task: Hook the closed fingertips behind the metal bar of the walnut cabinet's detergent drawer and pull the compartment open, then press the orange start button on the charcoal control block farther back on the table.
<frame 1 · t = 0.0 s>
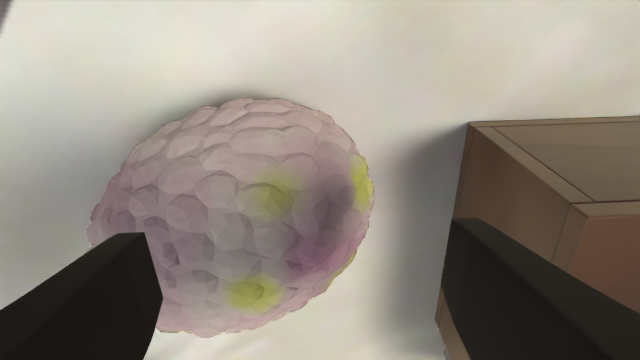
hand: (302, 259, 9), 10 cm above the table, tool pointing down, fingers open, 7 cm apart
drawer: (569, 355, 20), point 4 cm above the table, slide at 1.0 cm
decorative item: (245, 179, 19), on the table
cabinet: (547, 230, 22), on the table
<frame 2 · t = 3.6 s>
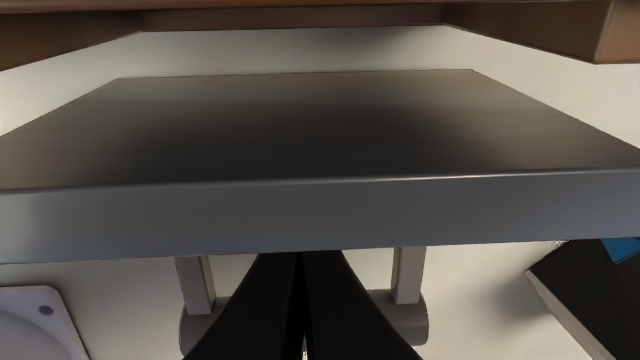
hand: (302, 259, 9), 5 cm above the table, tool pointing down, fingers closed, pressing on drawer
padlock: (608, 252, 16), on the table
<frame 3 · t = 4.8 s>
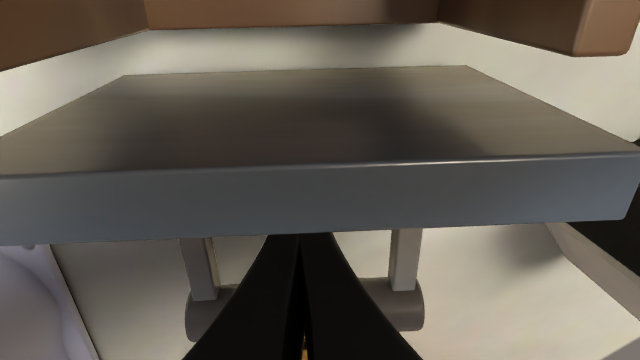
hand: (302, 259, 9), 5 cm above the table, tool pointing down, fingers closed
padlock: (626, 187, 15), on the table
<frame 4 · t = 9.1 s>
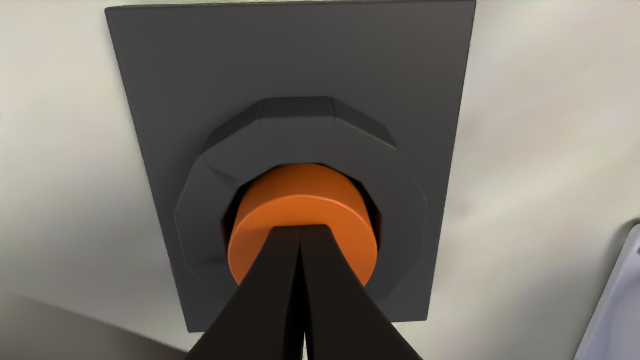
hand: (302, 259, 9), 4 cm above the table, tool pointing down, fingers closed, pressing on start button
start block: (302, 183, 12), on the table
start button: (302, 238, 10), point 3 cm above the table, slide at -0.3 cm, touching gripper
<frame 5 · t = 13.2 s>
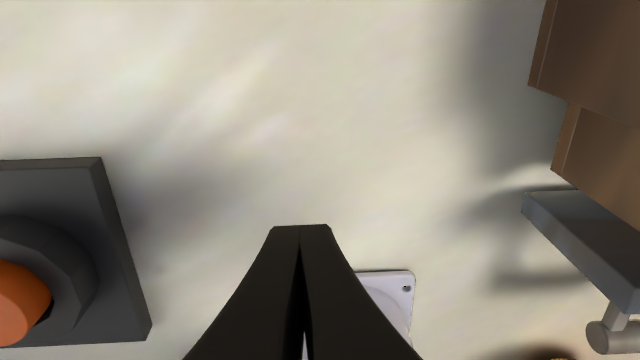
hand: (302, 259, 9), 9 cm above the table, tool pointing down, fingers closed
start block: (44, 254, 20), on the table
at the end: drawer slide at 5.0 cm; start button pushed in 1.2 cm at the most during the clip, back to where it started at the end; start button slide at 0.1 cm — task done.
